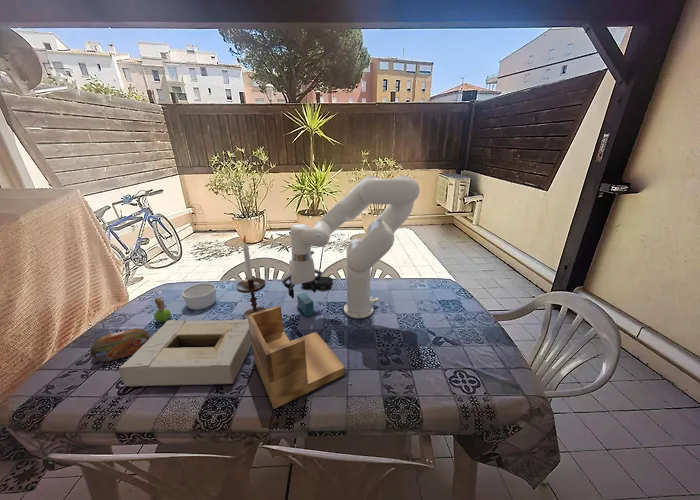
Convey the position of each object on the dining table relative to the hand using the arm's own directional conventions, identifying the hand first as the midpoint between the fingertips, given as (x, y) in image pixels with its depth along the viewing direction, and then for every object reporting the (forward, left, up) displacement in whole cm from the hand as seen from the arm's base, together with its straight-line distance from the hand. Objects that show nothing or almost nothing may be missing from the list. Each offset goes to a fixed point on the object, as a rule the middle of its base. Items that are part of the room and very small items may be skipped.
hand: (303, 293), depth 113 cm
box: (+40, +7, -8) cm, 42 cm away
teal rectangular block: (-1, 0, -8) cm, 8 cm away
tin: (+61, -8, -8) cm, 62 cm away
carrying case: (-15, -18, -8) cm, 24 cm away
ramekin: (+36, -30, -8) cm, 48 cm away
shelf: (+14, +29, -8) cm, 34 cm away
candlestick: (+18, -8, -8) cm, 22 cm away
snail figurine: (+50, -23, -8) cm, 56 cm away
